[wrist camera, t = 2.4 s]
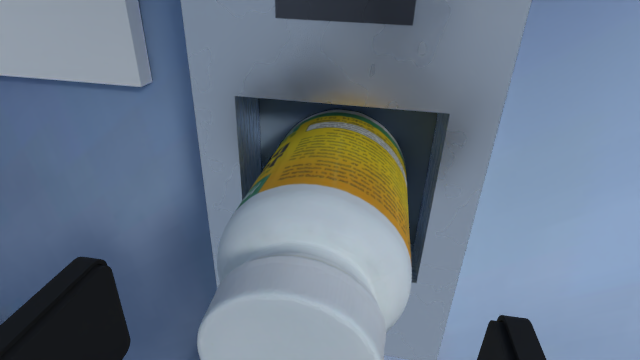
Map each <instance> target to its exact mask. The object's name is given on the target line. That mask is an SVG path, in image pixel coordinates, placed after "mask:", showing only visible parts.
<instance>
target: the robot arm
mask: <svg viewBox="0 0 640 360" xmlns="http://www.w3.org/2000/svg"><path fill="white" fill-rule="evenodd" d="M129 346H130V336H129V332H128V329H127V325H126V321H125V317H124V314H123V310H122V306H121V303H120V299H119V295H118V292H117V288H116V284H115V280H114V277H113V273H112V270H111V268H110V267H109V266H107V264H106V262H105V261H104V260H101V259H94V258H87V257H78V258H76V259H75V260H73V261H72V262H71V263H70V264H69V265H68V266H67V267H65V268H64V269H63V270H62V271H61V272H60V273H59V274H58V275H56V276H55V277H54V278H53V279H52V280H51V281H50V282H49V283H48V284H46V285H45V286H44V287H43V288H42V289H41V290H40V291H39V292H37V293H36V294H35V295H34V296H33V297H32V298H31V299H30V300H28V301H27V302H26V303H25V304H24V305H23V306H22V307H21V308H19V309H18V310H17V311H16V312H15V313H14V314H13V315H12V316H10V317H9V318H8V319H7V320H6V321H5V322H4V323H3V324H1V325H0V360H122V359H123V357H124V356H125V355H126V353H127V351H128V349H129ZM477 360H546V358H545V355H544V353H543V350H542V348H541V346H540V343H539V341H538V338H537V336H536V333H535V331H534V329H533V326H532V324H531V322H530V321H529V320H528V319H526V318H518V317H511V316H504V315H500V316H499V317H498V319H497V321H492V320H491V321H490V322H489V324H488V327H487V330H486V334H485V337H484V340H483V343H482V346H481V349H480V352H479V355H478V358H477Z"/></svg>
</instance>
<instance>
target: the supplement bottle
mask: <svg viewBox="0 0 640 360" xmlns="http://www.w3.org/2000/svg"><path fill="white" fill-rule="evenodd" d="M217 269H218V276H219V280H220V284H219V286H218V288H217V290H216V292H215V295H214V297H213V299H212V301H211V303H210V305H209V307H208V309H207V311H206V313H205V315H204V317H203V319H202V322H201V324H200V327H199V330H198V336H197V347H198V353H199V357H200V360H384V346H385V341H386V332H387V331H389V330H390V329H391V327H392V326H393V325H394V324H395V323H396V321H397V320H398V319H399V317H400V316H401V314H402V312H403V311H404V309H405V307H406V304H407V301H408V298H409V295H410V290H411V282H412V266H411V249H410V234H409V215H408V196H407V173H406V165H405V161H404V157H403V154H402V152H401V149H400V147H399V145H398V144H397V142H396V140H395V139H394V137H393V136H392V135H391V134H390V132H389V131H388V130H387V129H386V128H385V127H384V126H382V125H381V124H380V123H379V122H377V121H376V120H374V119H372V118H370V117H368V116H366V115H364V114H361V113H358V112H354V111H349V110H341V109H334V110H329V111H324V112H320V113H317V114H314V115H312V116H310V117H308V118H306V119H304V120H303V121H301V122H300V123H298V124H297V125H296V126H295V127H294V128H292V129H291V131H290V132H289V133H288V134H287V135H286V137H285V138H284V140H283V141H282V143H281V144H280V145H279V147H278V149H277V150H276V152H275V153H274V155H273V156H272V158H271V159H270V161H269V162H268V164H267V165H266V166H265V168H264V170H263V171H262V173H261V174H260V176H259V177H258V178H257V180H256V181H255V183H254V184H253V186H252V187H251V189H250V190H249V192H248V193H247V195H246V196H245V198H244V199H243V200H242V202H241V203H240V205H239V206H238V208H237V209H236V211H235V212H234V214H233V215H232V217H231V218H230V220H229V222H228V224H227V225H226V227H225V229H224V231H223V234H222V236H221V239H220V242H219V247H218V254H217Z"/></svg>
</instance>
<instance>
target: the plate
mask: <svg viewBox="0 0 640 360" xmlns="http://www.w3.org/2000/svg"><path fill="white" fill-rule="evenodd" d="M0 75H1V76H14V77H26V78H38V79H50V80H62V81H74V82H86V83H98V84H110V85H123V86H135V87H143V86H145V85H147V84H149V83H151V82H152V77H151V71H150V65H149V60H148V54H147V48H146V42H145V37H144V31H143V25H142V19H141V14H140V8H139V2H138V0H0Z"/></svg>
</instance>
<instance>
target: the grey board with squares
mask: <svg viewBox="0 0 640 360" xmlns="http://www.w3.org/2000/svg"><path fill="white" fill-rule="evenodd" d="M531 2H532V0H181V8H182V16H183V24H184V32H185V40H186V48H187V55H188V63H189V71H190V79H191V87H192V95H193V103H194V111H195V118H196V126H197V134H198V142H199V150H200V158H201V166H202V174H203V181H204V189H205V197H206V205H207V213H208V221H209V229H210V237H211V244H212V252H213V260H214V268H215V276H216V284H217V288H218V286H219V284H220V280H219V276H218V269H217V254H218V247H219V242H220V239H221V236H222V234H223V231H224V229H225V227H226V225H227V224H228V222H229V220H230V218H231V217H232V215H233V214H234V212H235V211H236V209H237V208H238V206H239V205H240V203H241V202H242V200H243V199H244V198H245V196H246V195H247V193H248V192H249V190H250V189H251V187H252V186H253V184H254V183H255V181H256V180H257V178H258V177H259V176H260V174H261V173H262V168H261V146H260V124H259V101H258V98H266V99H278V100H290V101H302V102H314V103H326V104H338V105H351V106H363V107H375V108H387V109H399V110H411V111H423V112H435V113H438V116H437V122H436V127H435V133H434V138H433V144H432V149H431V155H430V160H429V166H428V171H427V176H426V182H425V187H424V193H423V198H422V204H421V209H420V215H419V220H418V226H417V231H416V237H415V242H414V245H413V244H410V249H411V266H412V282H411V290H410V295H409V298H408V301H407V304H406V307H405V309H404V311H403V312H402V314H401V316H400V317H399V319H398V320H397V321H396V323H395V324H394V325H393V326H392V327H391V329H390V330H389V331H387V332H386V341H385V346H384V355H386V356H392V357H398V358H404V359H410V360H437V357H438V353H439V349H440V346H441V342H442V338H443V334H444V331H445V327H446V323H447V319H448V315H449V312H450V308H451V304H452V300H453V297H454V293H455V289H456V285H457V281H458V278H459V274H460V270H461V266H462V262H463V259H464V255H465V251H466V247H467V244H468V240H469V236H470V232H471V228H472V225H473V221H474V217H475V213H476V210H477V206H478V202H479V198H480V194H481V191H482V187H483V183H484V179H485V176H486V172H487V168H488V164H489V160H490V157H491V153H492V149H493V145H494V141H495V138H496V134H497V130H498V126H499V123H500V119H501V115H502V111H503V107H504V104H505V100H506V96H507V92H508V89H509V85H510V81H511V77H512V73H513V70H514V66H515V62H516V58H517V55H518V51H519V47H520V43H521V39H522V36H523V32H524V28H525V24H526V20H527V17H528V13H529V9H530V5H531Z"/></svg>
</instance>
